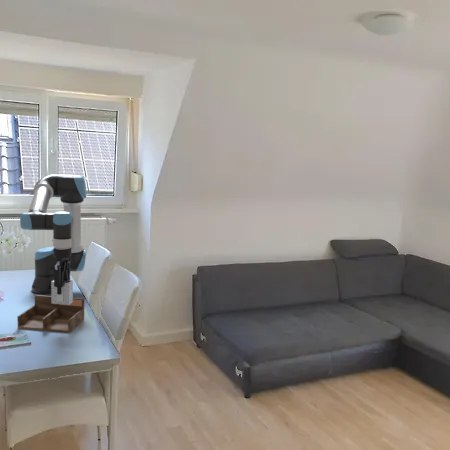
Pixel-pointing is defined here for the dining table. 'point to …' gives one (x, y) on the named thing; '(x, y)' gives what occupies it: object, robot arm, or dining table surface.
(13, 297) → the dining table surface
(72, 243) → the robot arm
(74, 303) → the rack
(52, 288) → the block
